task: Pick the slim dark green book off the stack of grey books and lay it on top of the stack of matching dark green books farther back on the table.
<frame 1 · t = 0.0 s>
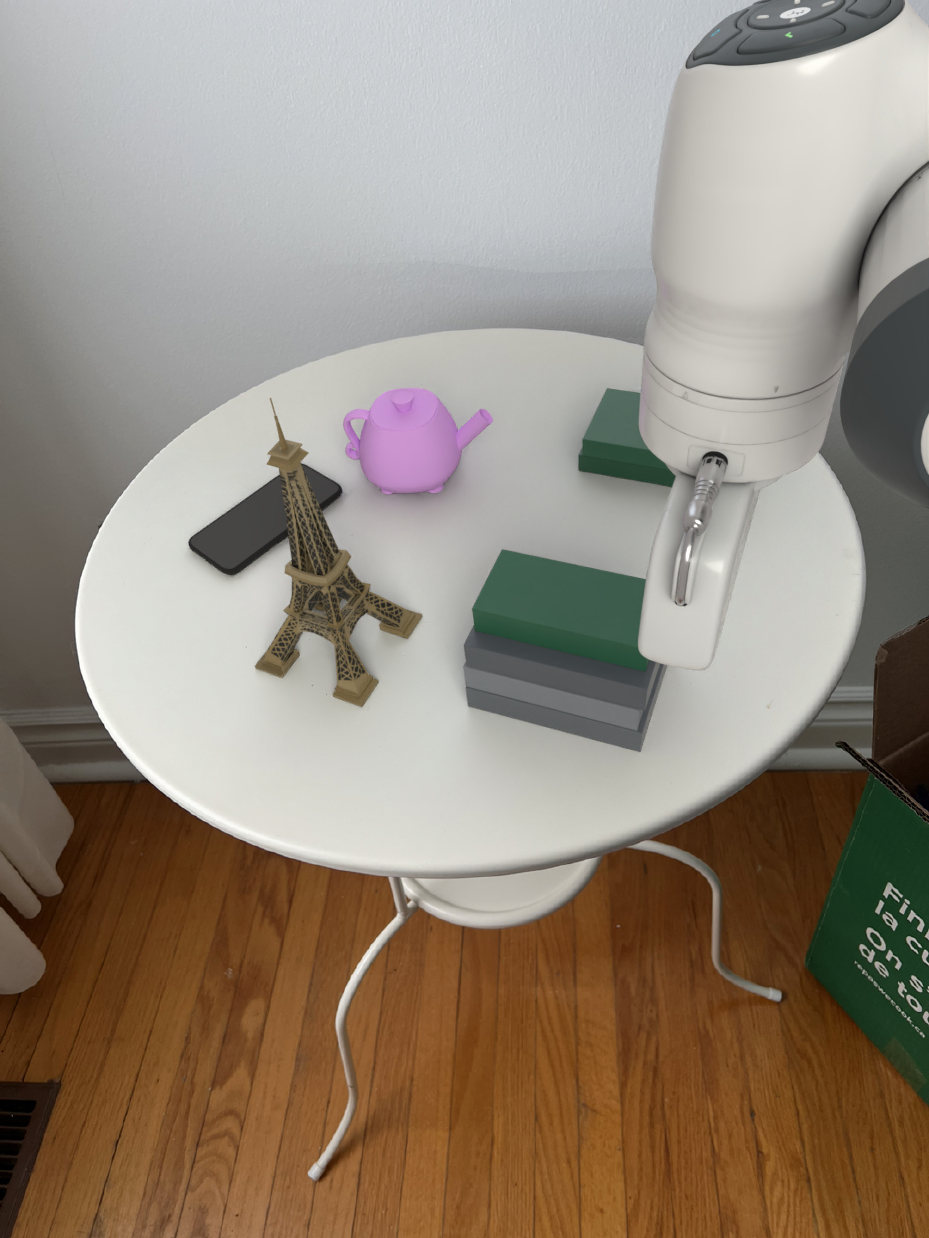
hand: (702, 596, 54), 19 cm above the table, tool pointing down, fingers open, 8 cm apart
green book: (570, 618, 69), point 7 cm above the table, touching grey stack
smartphone: (268, 521, 91), on the table
grey stack: (570, 680, 74), on the table
teapot: (423, 474, 94), on the table
green stack: (658, 455, 92), on the table
eiffel tower: (340, 643, 79), on the table
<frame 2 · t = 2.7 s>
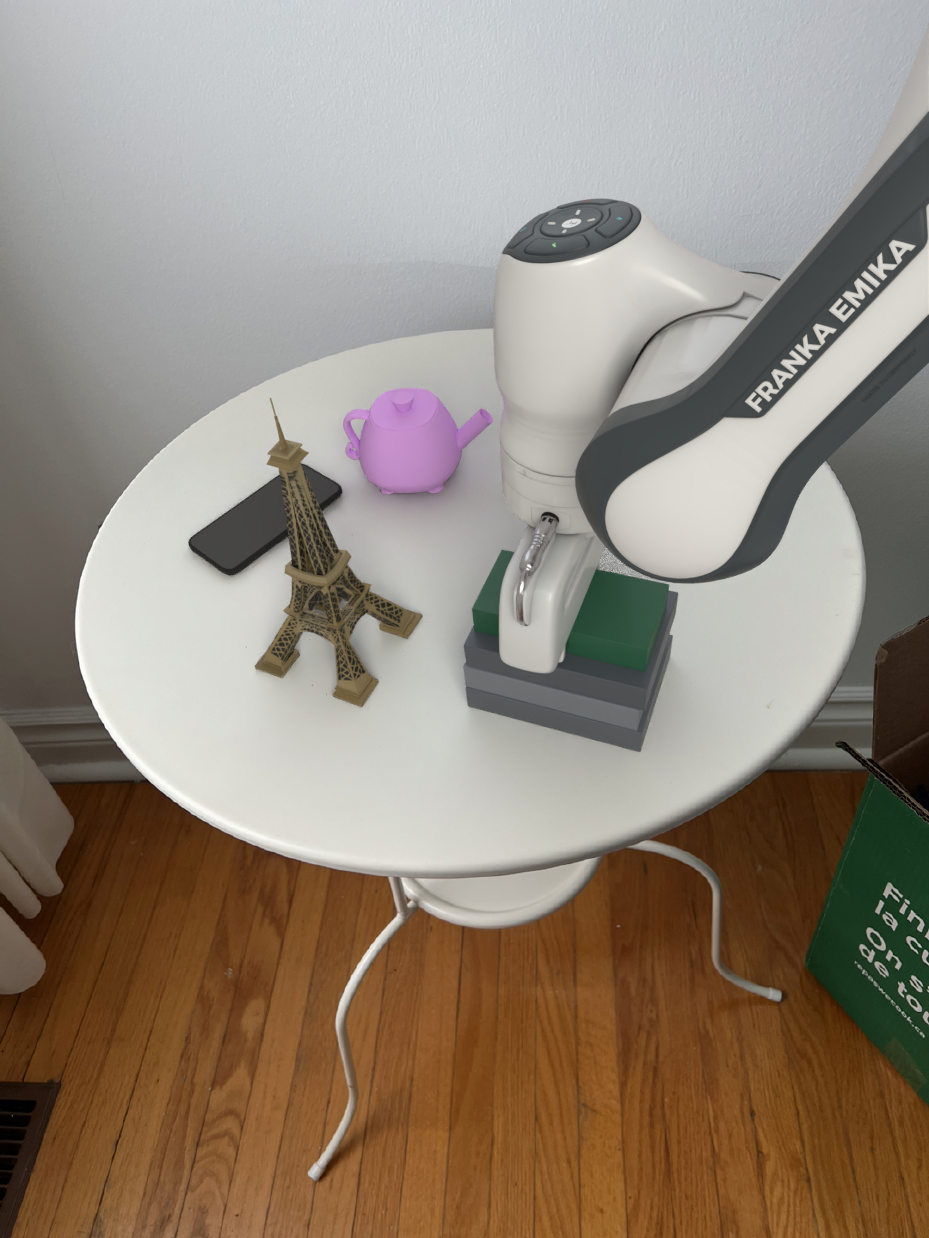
hand: (570, 614, 68), 8 cm above the table, tool pointing down, fingers closed on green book, 6 cm apart
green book: (570, 619, 69), point 7 cm above the table, touching grey stack, gripper
everything else where it was.
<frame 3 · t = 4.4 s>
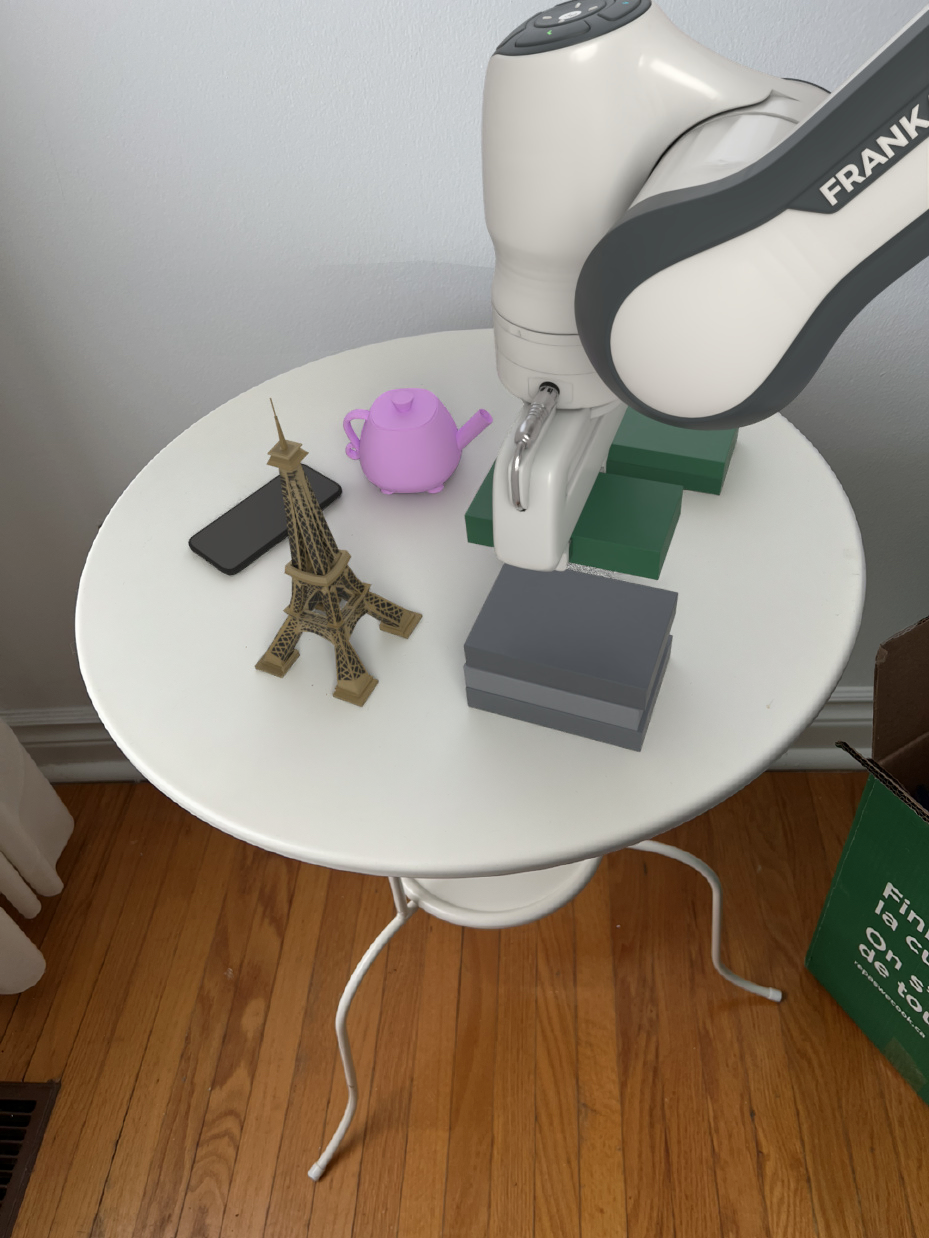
hand: (574, 522, 62), 17 cm above the table, tool pointing down, fingers closed on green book, 6 cm apart
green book: (574, 528, 62), point 17 cm above the table, touching gripper
everything else where it was.
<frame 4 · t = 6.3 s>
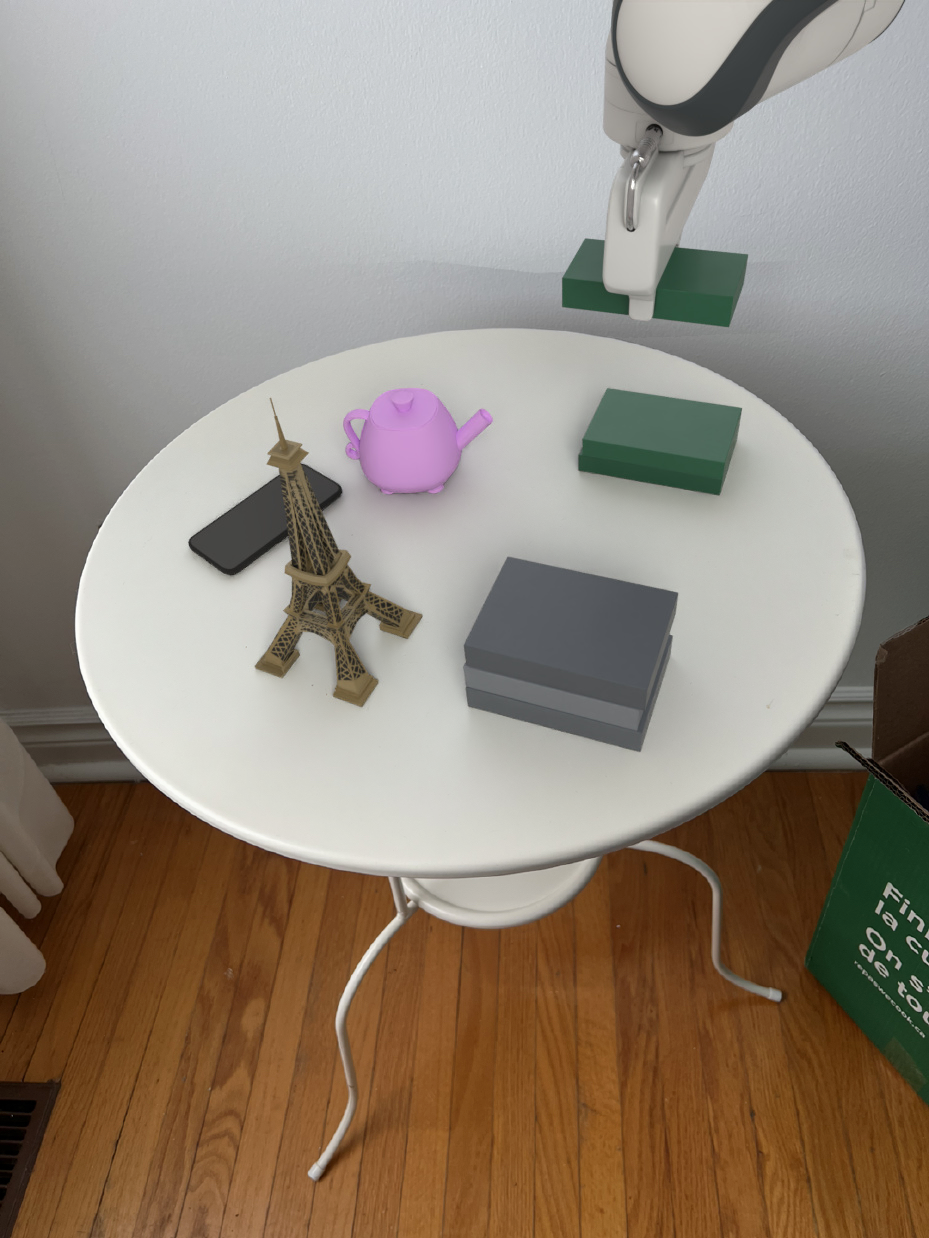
hand: (654, 289, 72), 22 cm above the table, tool pointing down, fingers closed on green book, 6 cm apart
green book: (652, 295, 73), point 21 cm above the table, touching gripper
everything else where it was.
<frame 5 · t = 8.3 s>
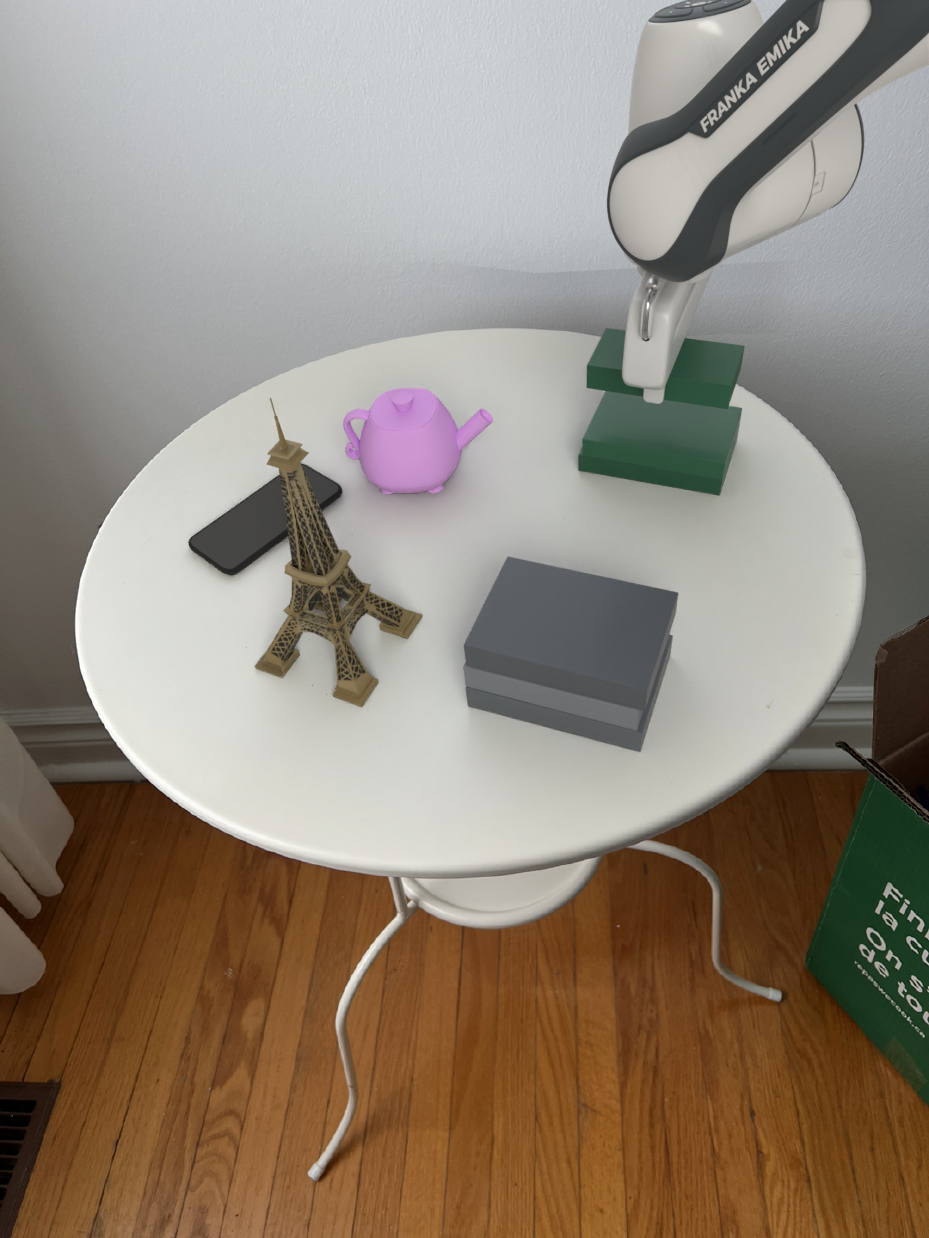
hand: (664, 374, 85), 9 cm above the table, tool pointing down, fingers closed on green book, 6 cm apart
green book: (663, 378, 86), point 9 cm above the table, touching gripper
everything else where it was.
when the fingers open (4 cm above the table, at t = 10.2 s): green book stays where it is, resting on green stack.
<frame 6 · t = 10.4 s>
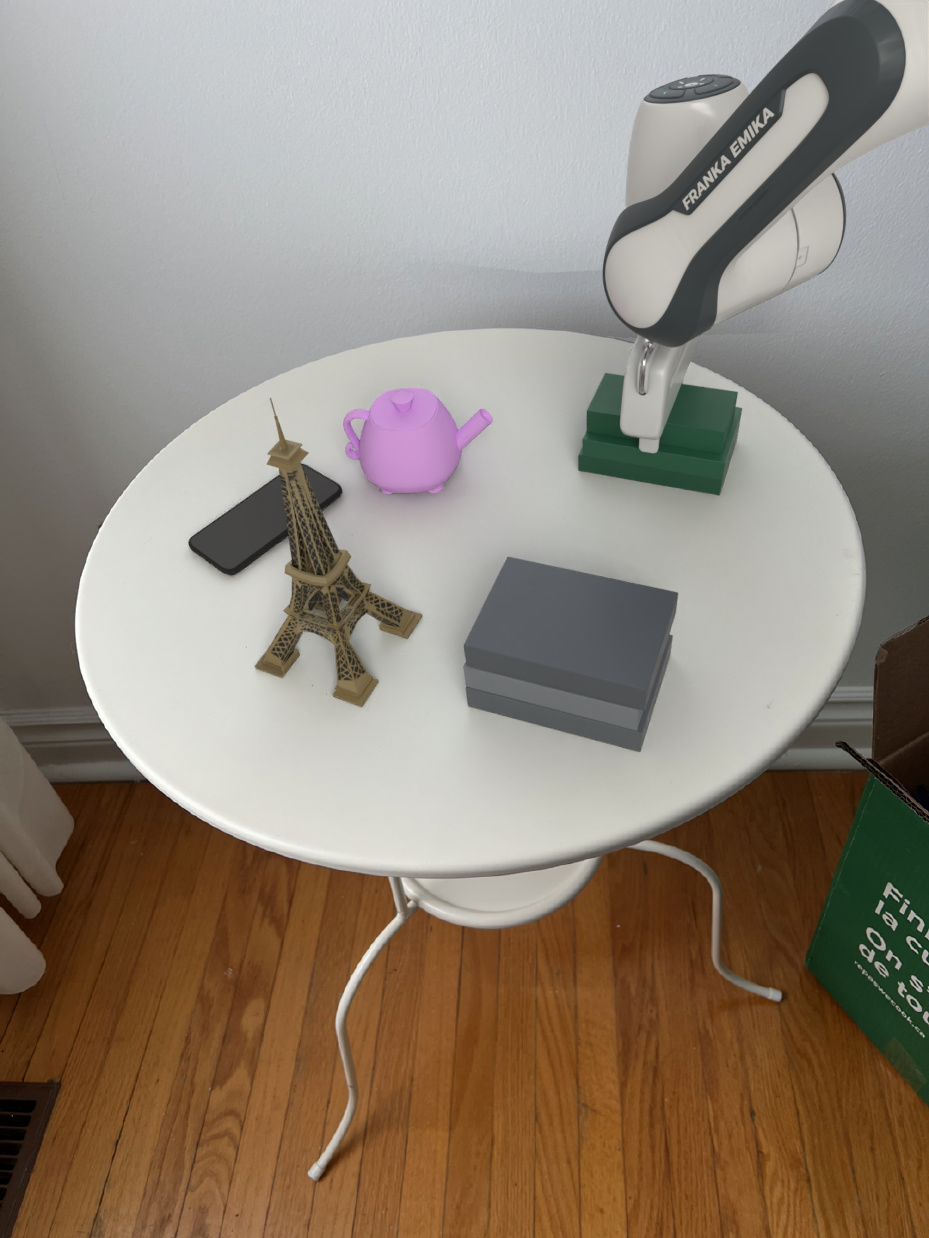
hand: (661, 419, 89), 4 cm above the table, tool pointing down, fingers open, 8 cm apart
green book: (660, 422, 89), point 4 cm above the table, touching green stack
everything else where it was.
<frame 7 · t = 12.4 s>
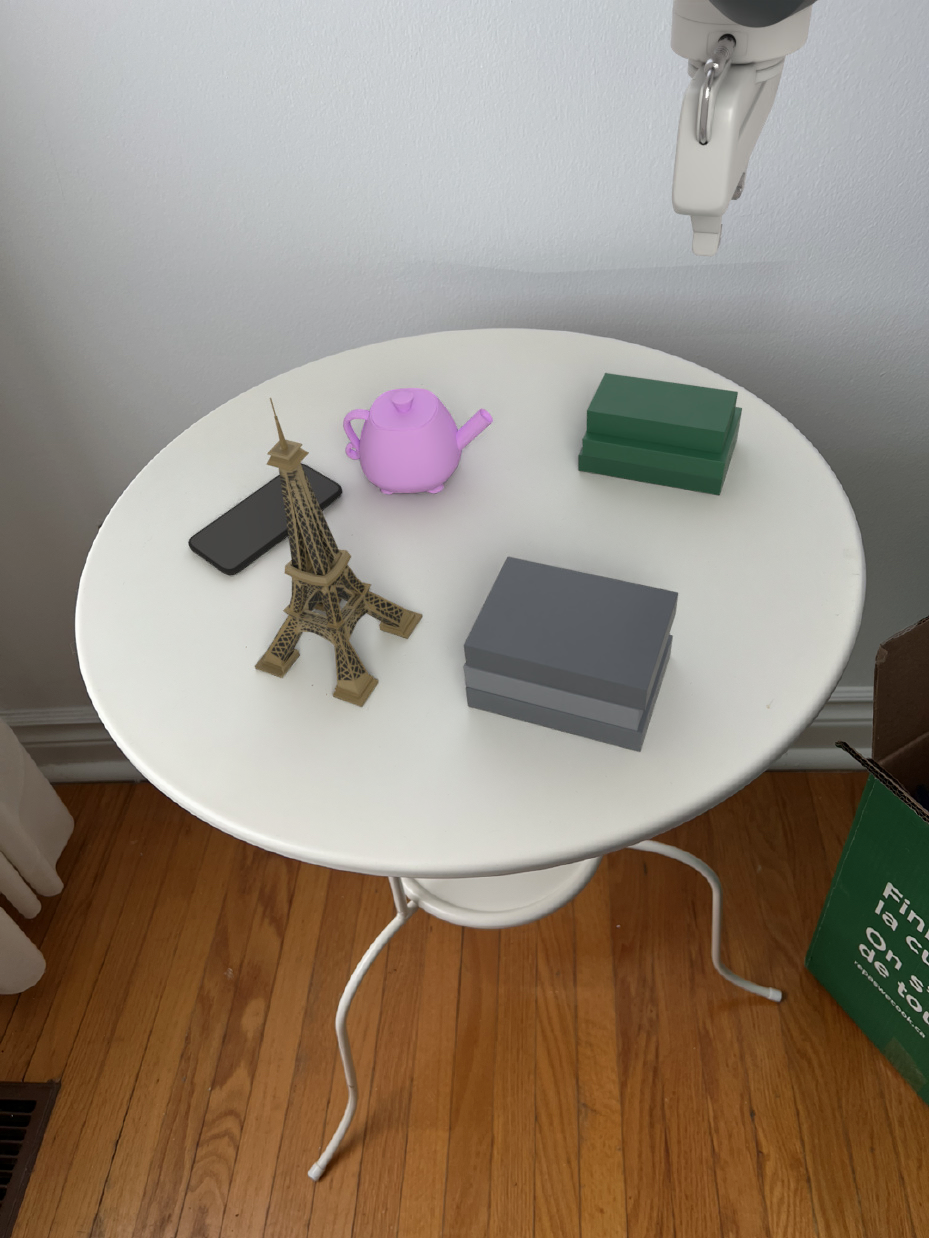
hand: (718, 222, 70), 26 cm above the table, tool pointing down, fingers open, 8 cm apart
nothing on the table moved.
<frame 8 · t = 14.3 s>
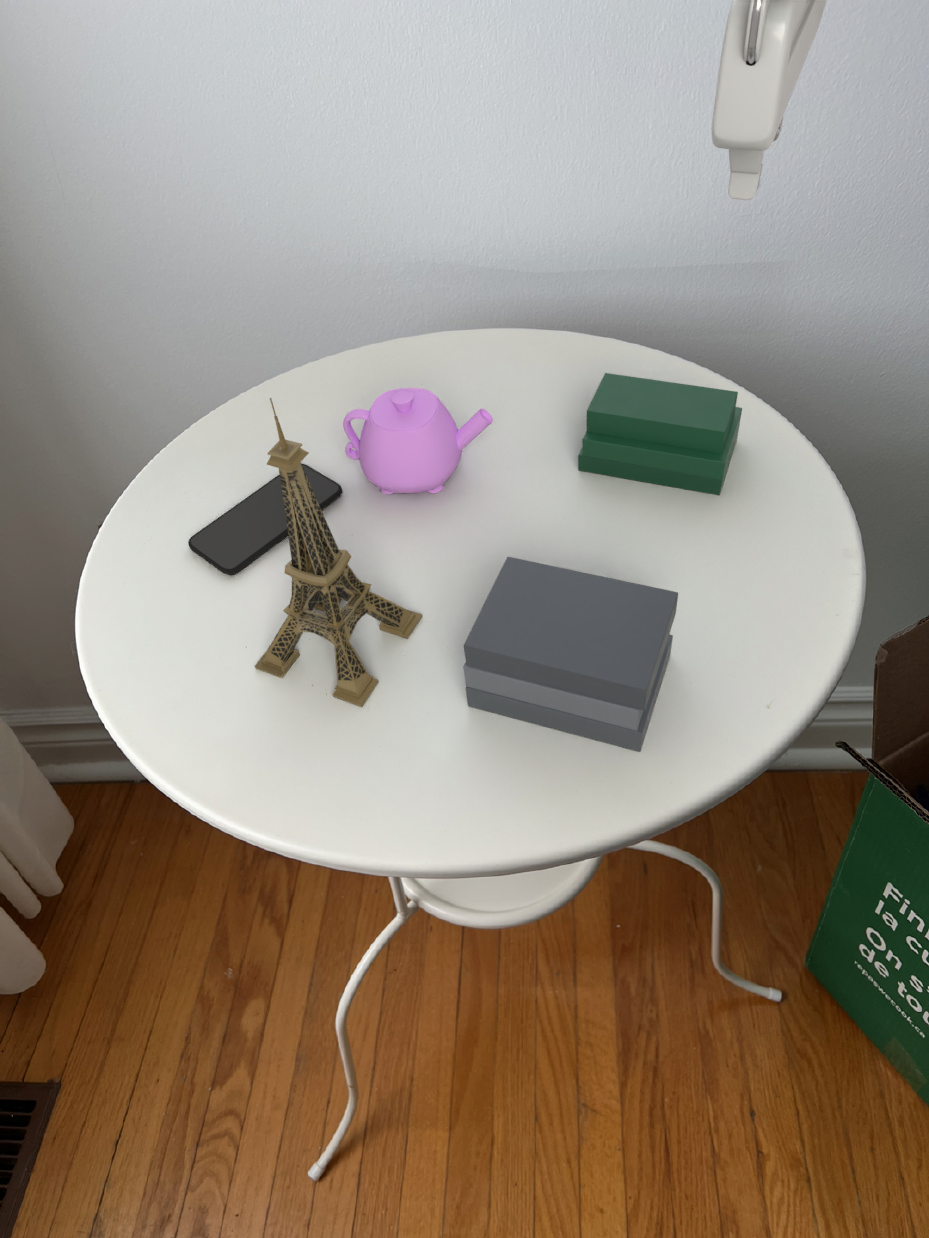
hand: (755, 165, 64), 31 cm above the table, tool pointing down, fingers open, 8 cm apart
nothing on the table moved.
at the end: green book 0.1 cm off-centre on the green stack, point 4.0 cm above the green stack's base; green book tilted 0°; the gripper is holding nothing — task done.
